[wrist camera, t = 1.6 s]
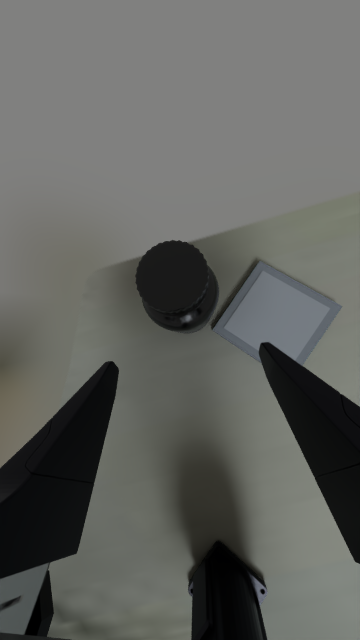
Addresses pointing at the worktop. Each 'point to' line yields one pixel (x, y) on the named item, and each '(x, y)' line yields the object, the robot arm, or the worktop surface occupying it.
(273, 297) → the plate
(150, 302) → the supplement bottle
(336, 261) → the worktop surface
